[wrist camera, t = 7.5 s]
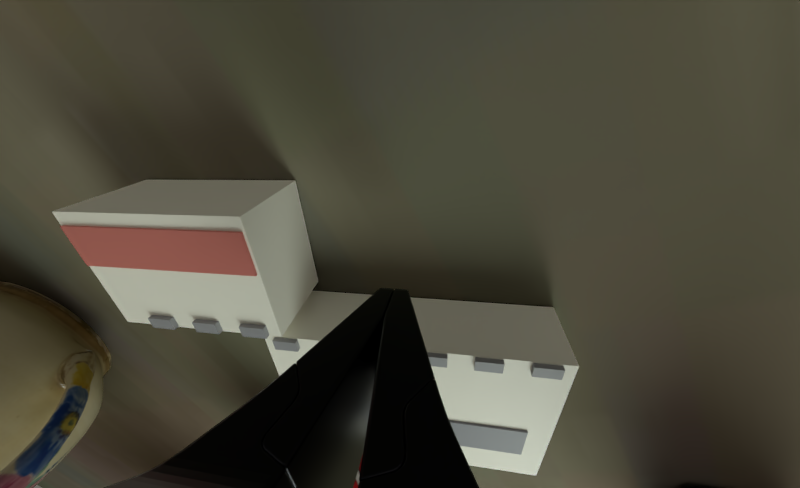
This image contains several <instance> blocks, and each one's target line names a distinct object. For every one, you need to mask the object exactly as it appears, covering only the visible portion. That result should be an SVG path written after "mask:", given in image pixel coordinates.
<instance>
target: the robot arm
mask: <svg viewBox="0 0 800 488" xmlns="http://www.w3.org/2000/svg"><path fill="white" fill-rule="evenodd" d="M362 455H363V457H362ZM361 458H362V464H361V470H360V477H359V485H358V488H479V486H478V484H477V482H476V480H475V478H474V475H473V473H472V471H471V469H470V467H469V464H468V462H467V460H466V458H465V456H464V453H463V451H462V449H461V447H460V445H459V442H458V440H457V438H456V435H455V433H454V431H453V428H452V426H451V423H450V421H449V419H448V416H447V414H446V411H445V408H444V405H443V402H442V399H441V396H440V393H439V390H438V386H437V383H436V380H435V377H434V374H433V370H432V367H431V364H430V360H429V357H428V354H427V350H426V347H425V344H424V341H423V337H422V334H421V331H420V327H419V324H418V321H417V317H416V314H415V311H414V307H413V304H412V301H411V298H410V294H409V291H408V290H406V289H395V290H393V289H390V288H380V289H379V290H377V291H376V292H375V293H374V294H373V295H372V296H371V297H369V298H368V299H367V300H366V301H365V302H364V303H363V304H361V305H360V306H359V307H358V308H357V309H356V310H355V311H353V312H352V313H351V314H350V315H349V316H348V317H347V318H345V319H344V320H343V321H342V322H341V323H340V324H339V325H337V326H336V327H335V328H334V329H333V330H332V331H331V332H329V333H328V334H327V335H326V336H325V337H324V338H323V339H321V340H320V341H319V342H318V343H317V344H316V345H315V346H313V347H312V348H311V349H310V350H309V351H308V352H307V353H305V354H304V355H303V356H302V357H301V358H300V359H299V360H297V362H296V364H295V363H294V364H293V365H292V366H290V367H289V368H288V369H287V370H286V371H285V372H284V373H282V374H281V375H280V376H279V377H278V378H276V379H275V380H274V381H273V382H272V383H270V384H269V385H268V386H267V387H266V388H265V389H263V390H262V391H261V392H259V393H258V394H257V395H255V396H254V397H253V398H252V399H250V400H249V401H248V402H246V403H245V404H244V405H242V406H241V407H240V408H238V409H237V410H236V411H234V412H233V413H232V414H230V415H229V416H228V417H226V418H225V419H224V420H222V421H221V422H220V423H218V424H217V425H216V426H214V427H213V428H211V429H210V430H209V431H207V432H206V433H205V434H203V435H202V436H201V437H199V438H198V439H197V440H195V441H194V442H193V443H191V444H190V445H189V446H187V447H186V448H184V449H183V450H182V451H180V452H179V453H177V454H176V455H174V456H173V457H171V458H170V459H168V460H167V461H165V462H163V463H162V464H160V465H158V466H156V467H154V468H152V469H151V470H149V471H146V472H144V473H142V474H140V475H138V476H135V477H132V478H130V479H127V480H124V481H121V482H119V483H116V484H113V485H110V486H107V487H104V488H353V486H354V483H355V479H356V476H357V472H358V469H359V465H360V462H361ZM684 488H697V487H684Z"/></svg>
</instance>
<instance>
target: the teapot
mask: <svg viewBox="0 0 800 488" xmlns="http://www.w3.org/2000/svg"><path fill="white" fill-rule="evenodd" d="M111 365H112V359H111V355H110V353H109V350H108V348H107V347H106V345H105V343H104V342H103V341H102V339H101V338H100V337H99V336H98V335H97V334H96V333H95V332H94V331H93V329H92V328H91V327H89V326H88V325H87V324H86V323H85V322H84V321H83V320H81V319H80V318H79V317H78V316H76V315H75V314H74V313H72V312H71V311H70V310H68V309H67V308H65V307H64V306H62V305H60V304H59V303H57V302H55V301H54V300H52V299H50V298H48V297H46V296H44V295H42V294H40V293H38V292H36V291H33V290H31V289H28V288H25V287H23V286H20V285H16V284H13V283H8V282H1V281H0V488H34V487H35V486H36V485H37V484H38V483H39V482H40V481H41V480H42V479H43V478H44V477H46V476H47V475H48V474H49V473H50V472H51V471H52V470H53V469H54V468H55V467H56V466H57V465H58V464H59V463H60V461H61V460H62V459H63V458H64V457H65V456H66V455H67V454H68V453H69V452H70V451H71V450H72V449H73V448H74V446H75V445H76V444H77V443H78V442H79V441H80V440H81V438H82V437H83V436H84V435H85V433H86V432H87V430H88V429H89V428H90V426H91V425H92V423H93V422H94V420H95V418H96V416H97V415H98V413H99V410H100V408H101V404H102V399H103V376H104V375H105V374H106V373H107V372H108V371H109V369H110V368H111Z"/></svg>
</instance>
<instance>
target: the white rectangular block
mask: <svg viewBox="0 0 800 488" xmlns="http://www.w3.org/2000/svg"><path fill="white" fill-rule="evenodd" d="M52 213H53V214H54V216H55V217H56V219H57V220H58V221H59V223H60V224H61V226H60V227H61V229H62V230H63V232H64V233H65V234H66V236H67V237H68V239H69V240H70V242H71V243H72V245H73V246H74V247H75V249H76V250H77V252H78V253H79V255H80V256H81V257H82V259H83V260H84V262H85V263H86V265H87V266H90V268H91V269H92V271H93V272H94V274H95V275H96V276H97V278H98V279H99V281H100V282H101V284H102V285H103V287H104V288H105V289H106V291H107V292H108V294H109V295H110V297H111V298H112V300H113V301H114V302H115V304H116V305H117V307H118V308H119V310H120V311H121V313H122V314H123V315H124V317H125V318H126V320H127V321H128V322H135V323H145V324H152V326H153V327H154V328H163V329H173V330H175V329H176V328H177V327H186V328H195V329H196V331H197V332H203V333H213V334H220V333H221V332H222V331H227V332H237V333H241V334H242V336H243V337H253V338H263V339H267V338H268V336H277V337H282V336H283V334H284V333H285V331H286V330H287V328H288V327H289V325H290V324H291V322H292V321H293V319H294V318H295V316H296V315H297V313H298V312H299V310H300V309H301V307H302V306H303V304H304V303H305V301H306V300H307V298H308V296H309V295H310V293H311V292H312V290H313V289H314V287H315V286H316V284H317V283H318V277H317V273H316V268H315V264H314V259H313V255H312V251H311V246H310V242H309V238H308V233H307V229H306V224H305V220H304V216H303V211H302V207H301V203H300V198H299V194H298V189H297V185H296V181H295V180H144V181H141V182H138V183H135V184H132V185H129V186H126V187H123V188H120V189H117V190H114V191H111V192H108V193H105V194H102V195H99V196H96V197H93V198H90V199H87V200H84V201H81V202H78V203H75V204H72V205H70V206H67V207H64V208H61V209H58V210H55V211H52Z"/></svg>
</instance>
